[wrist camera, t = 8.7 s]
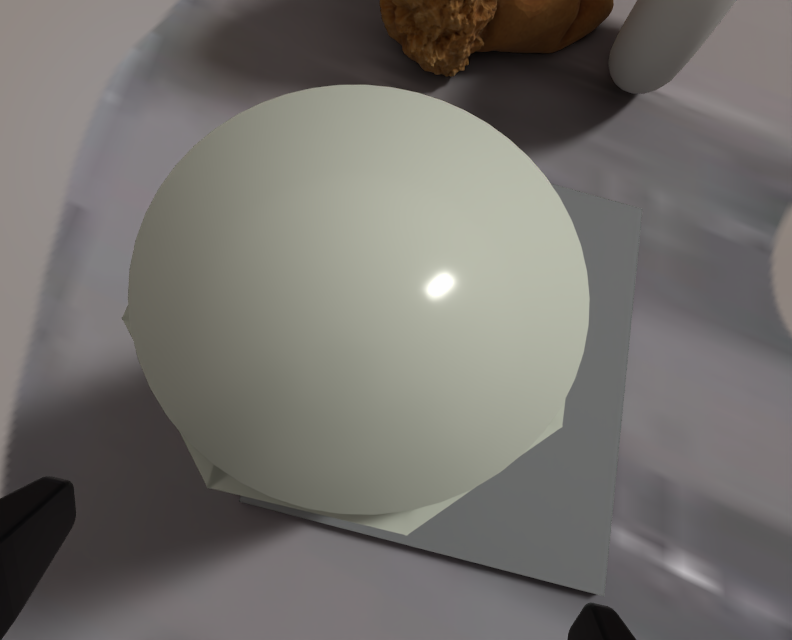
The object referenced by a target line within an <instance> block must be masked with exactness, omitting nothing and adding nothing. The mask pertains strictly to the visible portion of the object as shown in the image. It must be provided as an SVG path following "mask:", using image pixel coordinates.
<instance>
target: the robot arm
mask: <svg viewBox="0 0 792 640" xmlns="http://www.w3.org/2000/svg"><path fill="white" fill-rule="evenodd" d="M75 518H76V508H75V498H74V487H73V484H72V483H71V482H70V481H68V480H64V479H60V478H55V477H43V478H40V479H38V480H36V481H34V482H32V483H30V484H28V485H26V486H24V487H22V488H20V489H18V490H16V491H14V492H13V493H11V494H9V495H7V496H5V497H3V498H1V499H0V640H1V639H2V638H3V636H4V635H5V634H6V632H7V631H8V629H9V628H10V627H11V625H12V624H13V622H14V621H15V620H16V618H17V616H18V615H19V613H20V612H21V610H22V609H23V607H24V606H25V604H26V602H27V601H28V599H29V597H30V596H31V594H32V592H33V591H34V589H35V588H36V586H37V584H38V583H39V581H40V579H41V578H42V576H43V574H44V573H45V571H46V569H47V568H48V566H49V565H50V563H51V561H52V560H53V558H54V556H55V555H56V553H57V551H58V550H59V548H60V547H61V545H62V543H63V542H64V540H65V538H66V537H67V535H68V533H69V532H70V530H71V528H72V526H73V524H74V521H75ZM568 640H636V639H635V637H634V636H633V635H632V633H631V632H630V630H629V629H628V628H627V626H626V625H625V624H624V622H623V621H622V620H621V618H620V617H619V615H618V614H617V613H616V612H615V611H614V610H613V609H612V608H610V607H608V606H604V605H600V604H595V603H588V604H586V605H585V606H584V608H583V609H582V611H581V612H580V614H579V615H578V617H577V618H576V620H575V621H574V623H573V625H572V626H571V628H570V630H569V633H568Z"/></svg>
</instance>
